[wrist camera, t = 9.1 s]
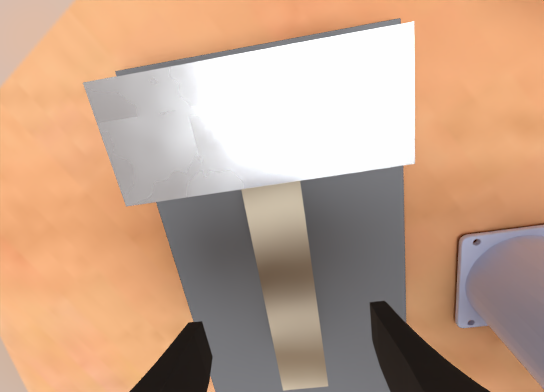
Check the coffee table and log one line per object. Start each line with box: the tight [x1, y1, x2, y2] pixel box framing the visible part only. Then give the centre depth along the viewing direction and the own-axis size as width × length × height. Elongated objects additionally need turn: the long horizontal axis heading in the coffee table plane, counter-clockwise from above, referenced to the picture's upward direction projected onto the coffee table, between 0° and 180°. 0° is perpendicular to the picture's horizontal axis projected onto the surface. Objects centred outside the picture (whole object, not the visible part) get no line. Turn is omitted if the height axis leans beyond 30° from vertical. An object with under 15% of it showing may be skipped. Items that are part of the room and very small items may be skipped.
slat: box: [241, 181, 328, 391], centre depth 19 cm, size 18×3×4 cm, turn 9°
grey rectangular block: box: [83, 22, 415, 206], centre depth 15 cm, size 12×5×7 cm, turn 99°
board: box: [115, 18, 406, 392], centre depth 22 cm, size 16×28×1 cm, turn 9°
